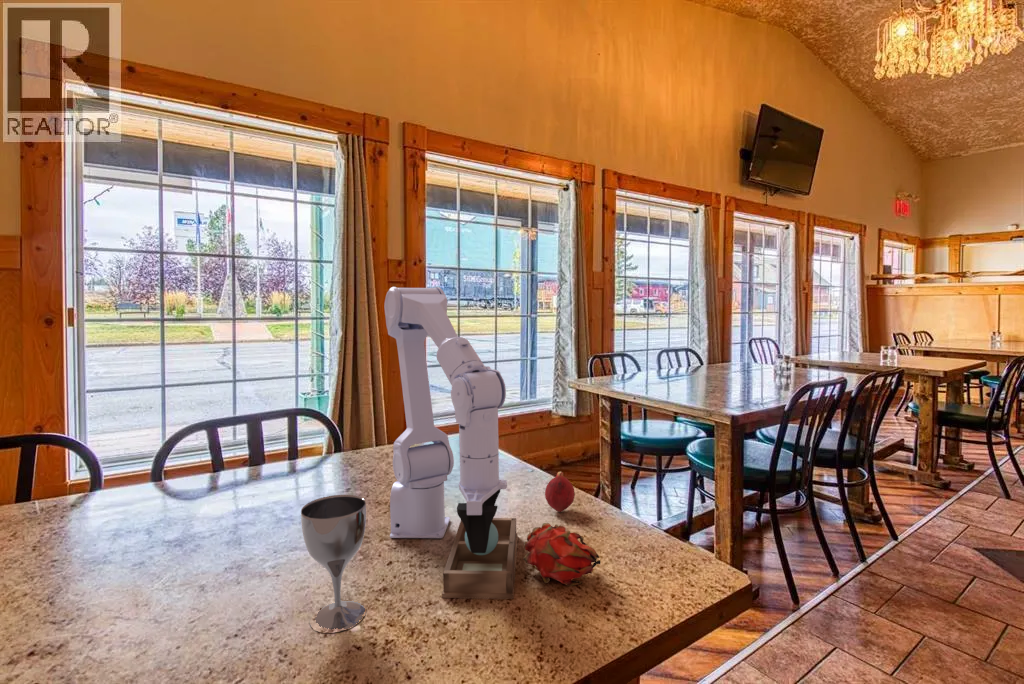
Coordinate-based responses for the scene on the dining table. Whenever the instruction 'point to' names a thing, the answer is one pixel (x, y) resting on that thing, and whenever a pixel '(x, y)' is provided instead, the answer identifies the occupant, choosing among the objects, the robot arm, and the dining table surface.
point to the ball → (491, 541)
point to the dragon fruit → (559, 554)
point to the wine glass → (335, 549)
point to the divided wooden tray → (482, 566)
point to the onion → (559, 493)
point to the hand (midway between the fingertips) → (480, 542)
